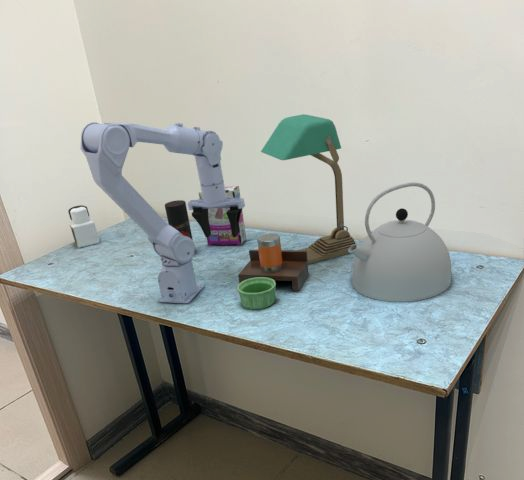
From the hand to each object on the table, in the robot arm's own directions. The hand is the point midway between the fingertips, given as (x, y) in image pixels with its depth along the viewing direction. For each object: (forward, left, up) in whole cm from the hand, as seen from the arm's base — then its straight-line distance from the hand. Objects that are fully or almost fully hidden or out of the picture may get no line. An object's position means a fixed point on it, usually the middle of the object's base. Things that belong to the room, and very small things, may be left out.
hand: (221, 235), depth 138 cm
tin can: (-5, -14, -6) cm, 17 cm away
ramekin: (-15, -14, -11) cm, 23 cm away
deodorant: (+13, +19, -11) cm, 26 cm away
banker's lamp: (+13, -21, -11) cm, 27 cm away
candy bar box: (+22, +9, -11) cm, 26 cm away
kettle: (-2, -44, -11) cm, 45 cm away
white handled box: (+21, +59, -11) cm, 64 cm away
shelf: (-4, -14, -10) cm, 18 cm away
